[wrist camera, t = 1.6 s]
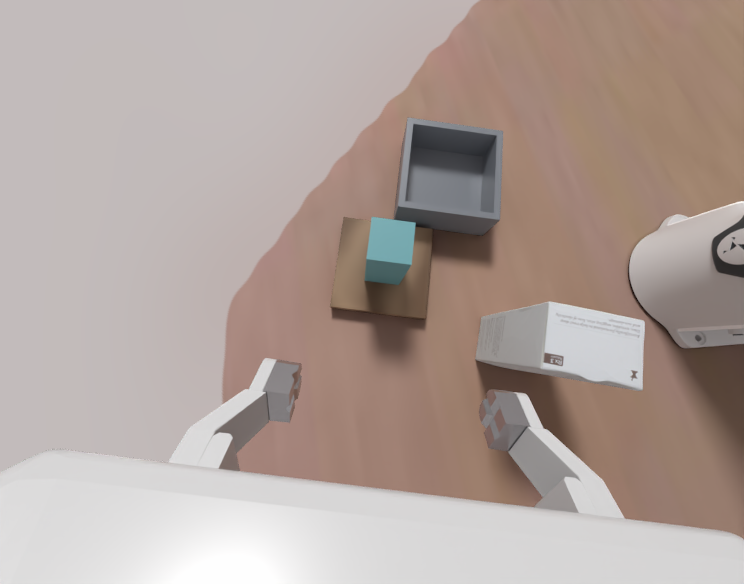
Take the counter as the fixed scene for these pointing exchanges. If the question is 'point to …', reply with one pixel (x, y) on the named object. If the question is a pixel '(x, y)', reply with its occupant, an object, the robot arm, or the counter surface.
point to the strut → (389, 250)
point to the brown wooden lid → (375, 295)
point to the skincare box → (565, 344)
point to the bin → (449, 177)
